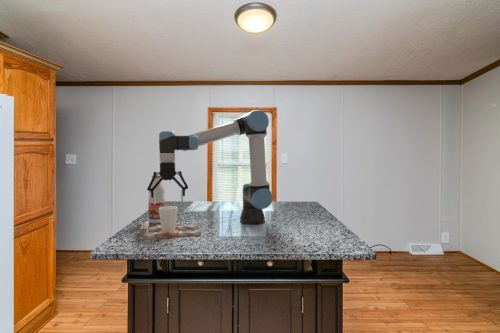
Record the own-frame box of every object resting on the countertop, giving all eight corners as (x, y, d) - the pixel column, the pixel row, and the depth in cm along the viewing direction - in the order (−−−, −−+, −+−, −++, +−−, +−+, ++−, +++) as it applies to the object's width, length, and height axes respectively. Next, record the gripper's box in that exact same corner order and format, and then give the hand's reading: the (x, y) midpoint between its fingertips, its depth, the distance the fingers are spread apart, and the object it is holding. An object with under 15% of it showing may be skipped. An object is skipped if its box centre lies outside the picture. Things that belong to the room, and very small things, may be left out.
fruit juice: (167, 221, 178) (167, 175, 177) (153, 224, 172) (152, 176, 171) (160, 219, 185) (160, 174, 184) (146, 221, 179) (145, 175, 178)
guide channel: (198, 227, 164) (198, 218, 163) (201, 235, 149) (201, 225, 149) (143, 231, 156) (142, 222, 156) (140, 239, 142) (139, 229, 141)
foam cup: (155, 234, 150) (154, 208, 149) (166, 229, 158) (166, 205, 158) (170, 236, 146) (170, 209, 146) (181, 231, 155) (181, 206, 154)
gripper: (191, 161, 158) (192, 200, 158) (142, 162, 151) (143, 203, 152) (192, 161, 150) (193, 203, 151) (140, 162, 144) (142, 205, 145)
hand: (168, 203), depth 152 cm, fingers open, 13 cm apart
